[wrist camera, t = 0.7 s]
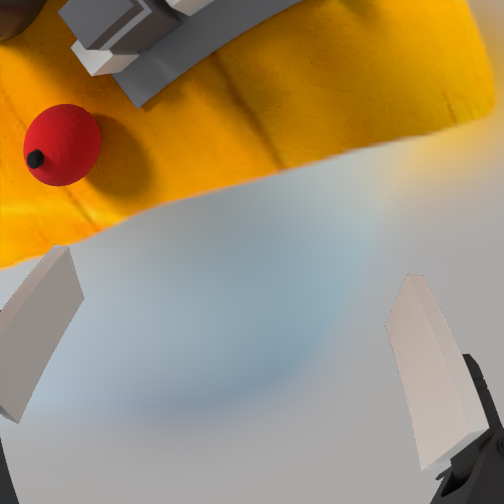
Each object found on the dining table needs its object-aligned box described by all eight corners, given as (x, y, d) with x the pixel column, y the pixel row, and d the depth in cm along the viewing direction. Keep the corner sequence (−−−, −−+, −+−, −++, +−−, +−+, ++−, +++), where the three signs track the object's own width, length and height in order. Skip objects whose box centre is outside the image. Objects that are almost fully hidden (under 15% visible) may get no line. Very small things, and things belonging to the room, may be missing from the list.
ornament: (78, 83, 29) (22, 97, 21) (129, 130, 32) (82, 157, 24) (43, 139, 33) (-8, 166, 24) (89, 183, 36) (44, 221, 28)
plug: (124, 22, 25) (56, 12, 15) (159, -6, 23) (102, -33, 13) (147, 51, 27) (85, 51, 16) (184, 24, 25) (134, 5, 15)
